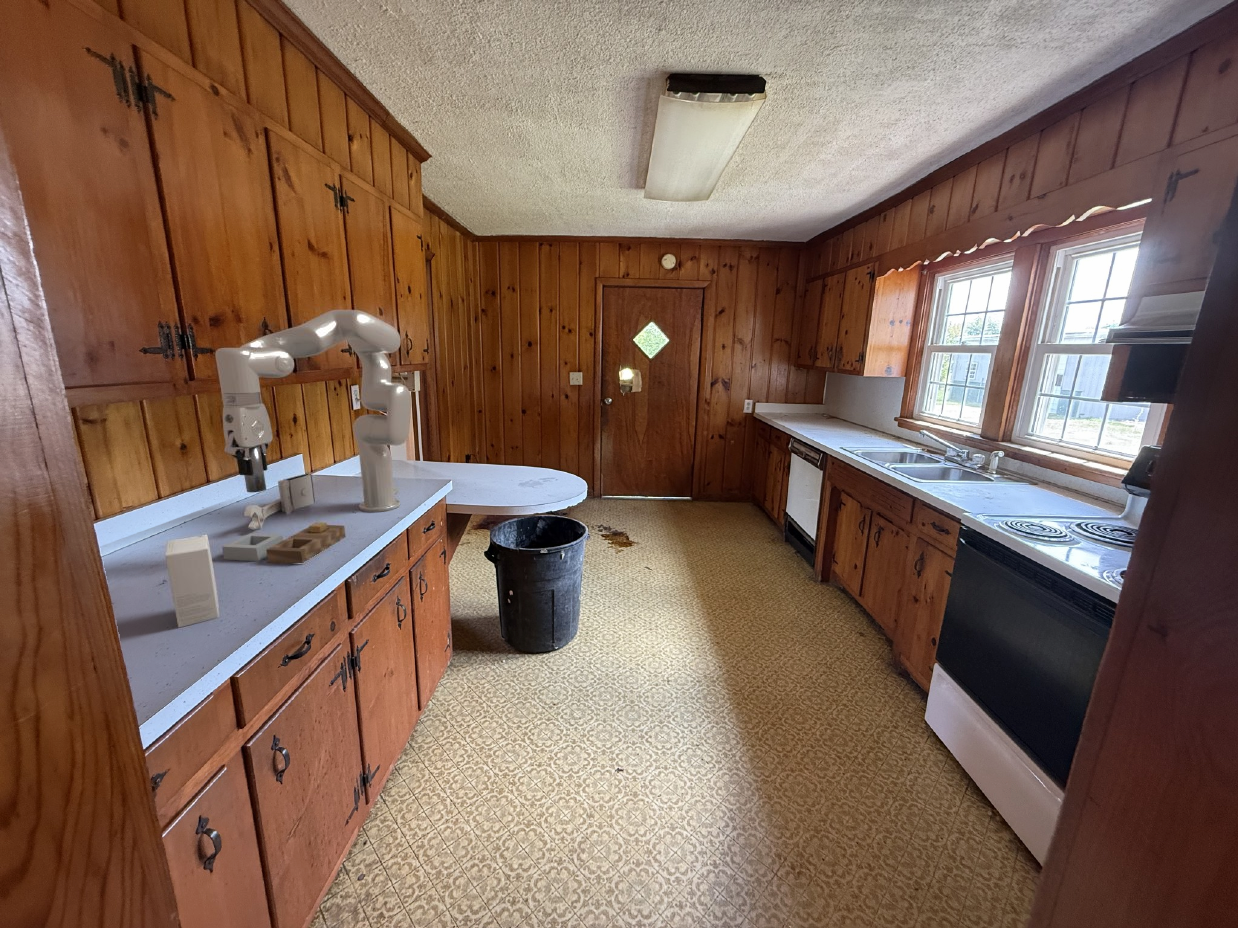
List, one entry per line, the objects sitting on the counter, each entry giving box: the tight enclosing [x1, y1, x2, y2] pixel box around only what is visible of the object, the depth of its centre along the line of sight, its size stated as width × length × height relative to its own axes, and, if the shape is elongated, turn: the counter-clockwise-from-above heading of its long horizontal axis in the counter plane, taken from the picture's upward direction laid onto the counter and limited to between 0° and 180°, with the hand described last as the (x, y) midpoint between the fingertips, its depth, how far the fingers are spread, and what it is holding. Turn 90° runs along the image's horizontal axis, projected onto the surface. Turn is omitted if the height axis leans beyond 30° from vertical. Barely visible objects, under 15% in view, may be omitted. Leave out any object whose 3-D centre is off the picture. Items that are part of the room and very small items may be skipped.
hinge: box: [277, 473, 316, 516], centre depth 161 cm, size 14×5×10 cm, turn 177°
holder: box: [221, 532, 284, 562], centre depth 127 cm, size 9×9×4 cm
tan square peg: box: [308, 521, 328, 534], centre depth 134 cm, size 3×3×5 cm
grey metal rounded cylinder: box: [239, 445, 267, 494], centre depth 121 cm, size 4×4×12 cm
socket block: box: [266, 524, 346, 564], centre depth 130 cm, size 18×9×4 cm, turn 177°
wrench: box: [243, 498, 282, 530], centre depth 151 cm, size 8×2×30 cm
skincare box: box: [164, 534, 220, 628], centre depth 97 cm, size 8×7×16 cm
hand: (253, 471), depth 122 cm, fingers closed on grey metal rounded cylinder, 4 cm apart
